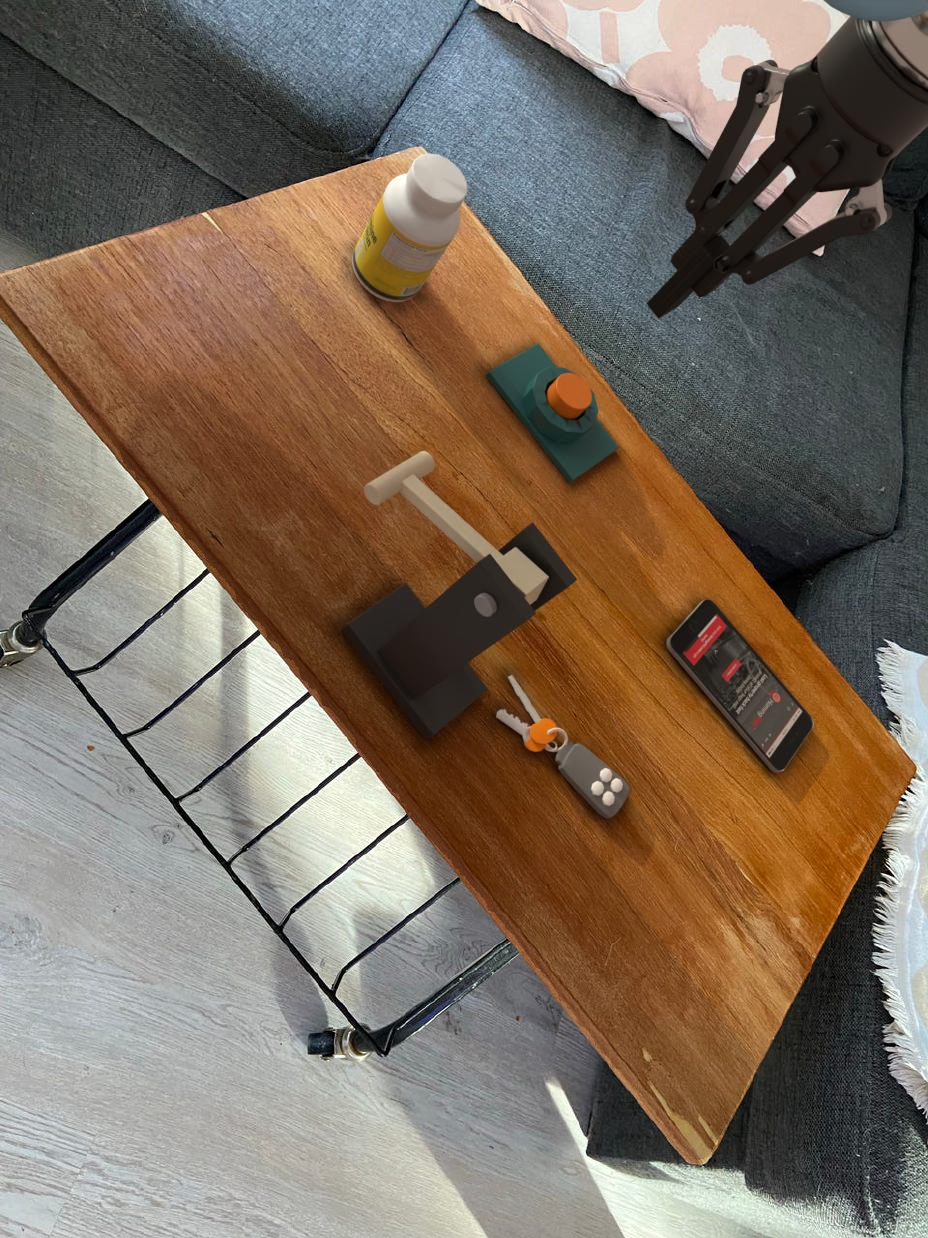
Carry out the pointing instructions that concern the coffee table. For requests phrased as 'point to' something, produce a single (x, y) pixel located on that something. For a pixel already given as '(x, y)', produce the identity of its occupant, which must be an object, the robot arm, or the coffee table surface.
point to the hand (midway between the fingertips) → (662, 304)
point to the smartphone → (741, 685)
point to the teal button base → (551, 413)
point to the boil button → (569, 396)
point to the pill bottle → (410, 229)
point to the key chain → (571, 760)
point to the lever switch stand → (450, 632)
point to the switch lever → (453, 522)
